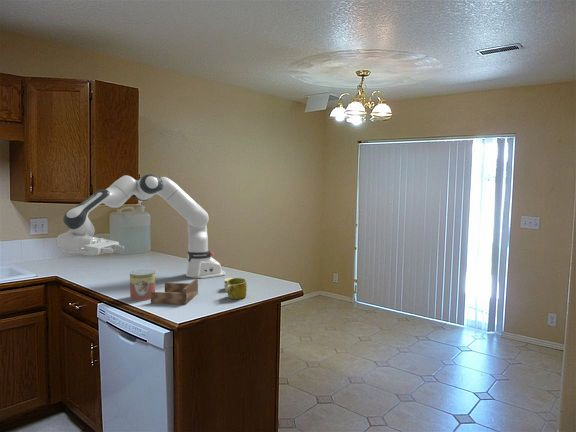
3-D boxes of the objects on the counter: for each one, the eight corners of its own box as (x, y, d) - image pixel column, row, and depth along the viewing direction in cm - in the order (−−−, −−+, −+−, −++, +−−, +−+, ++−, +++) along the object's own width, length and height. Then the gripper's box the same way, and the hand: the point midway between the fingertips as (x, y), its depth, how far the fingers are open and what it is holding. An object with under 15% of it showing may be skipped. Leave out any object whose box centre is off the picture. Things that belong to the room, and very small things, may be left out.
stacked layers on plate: (218, 288, 222) (218, 278, 221) (235, 286, 225) (235, 276, 225) (223, 293, 213) (223, 282, 212) (241, 291, 216) (241, 280, 216)
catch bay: (150, 303, 194) (150, 288, 193) (165, 292, 212) (165, 278, 211) (186, 304, 192) (185, 289, 192) (197, 293, 211) (197, 279, 210)
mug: (236, 288, 213) (237, 271, 209) (250, 298, 207) (252, 281, 203) (217, 298, 204) (218, 280, 200) (231, 308, 199) (232, 290, 194)
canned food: (129, 301, 196) (128, 275, 195) (131, 295, 207) (130, 270, 206) (155, 299, 199) (154, 274, 198) (155, 293, 210) (155, 269, 209)
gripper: (78, 242, 194) (107, 246, 193) (102, 237, 214) (129, 240, 213) (77, 256, 195) (106, 259, 193) (101, 249, 215) (128, 253, 213)
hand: (118, 249), depth 203 cm, fingers open, 8 cm apart
